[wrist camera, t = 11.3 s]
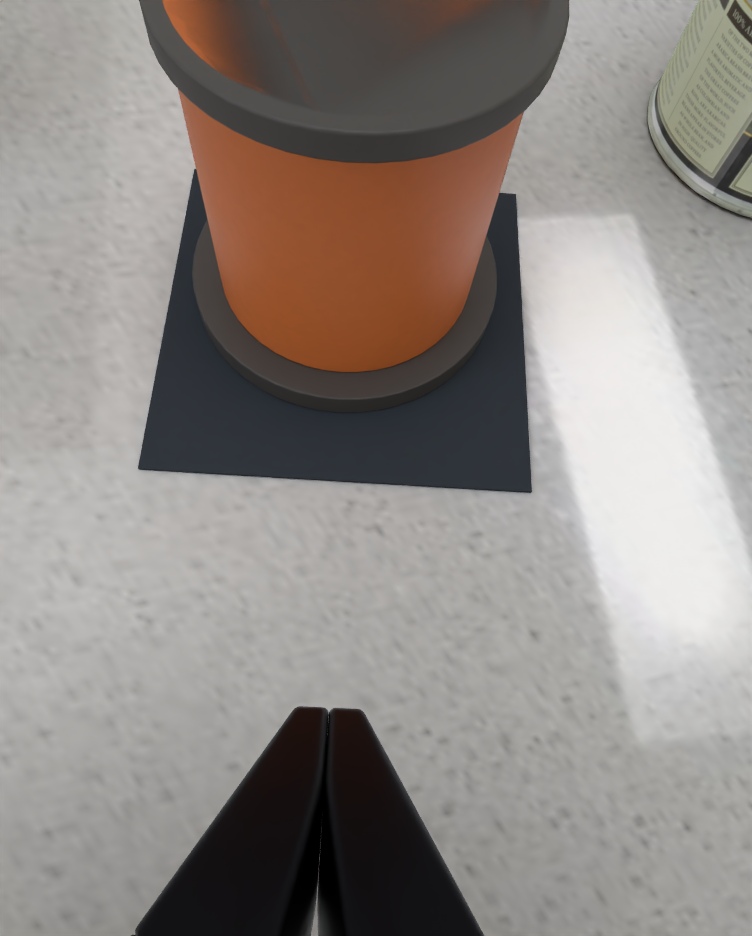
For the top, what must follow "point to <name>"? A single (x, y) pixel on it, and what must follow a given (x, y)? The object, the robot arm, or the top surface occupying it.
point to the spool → (351, 180)
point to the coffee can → (709, 105)
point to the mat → (344, 433)
